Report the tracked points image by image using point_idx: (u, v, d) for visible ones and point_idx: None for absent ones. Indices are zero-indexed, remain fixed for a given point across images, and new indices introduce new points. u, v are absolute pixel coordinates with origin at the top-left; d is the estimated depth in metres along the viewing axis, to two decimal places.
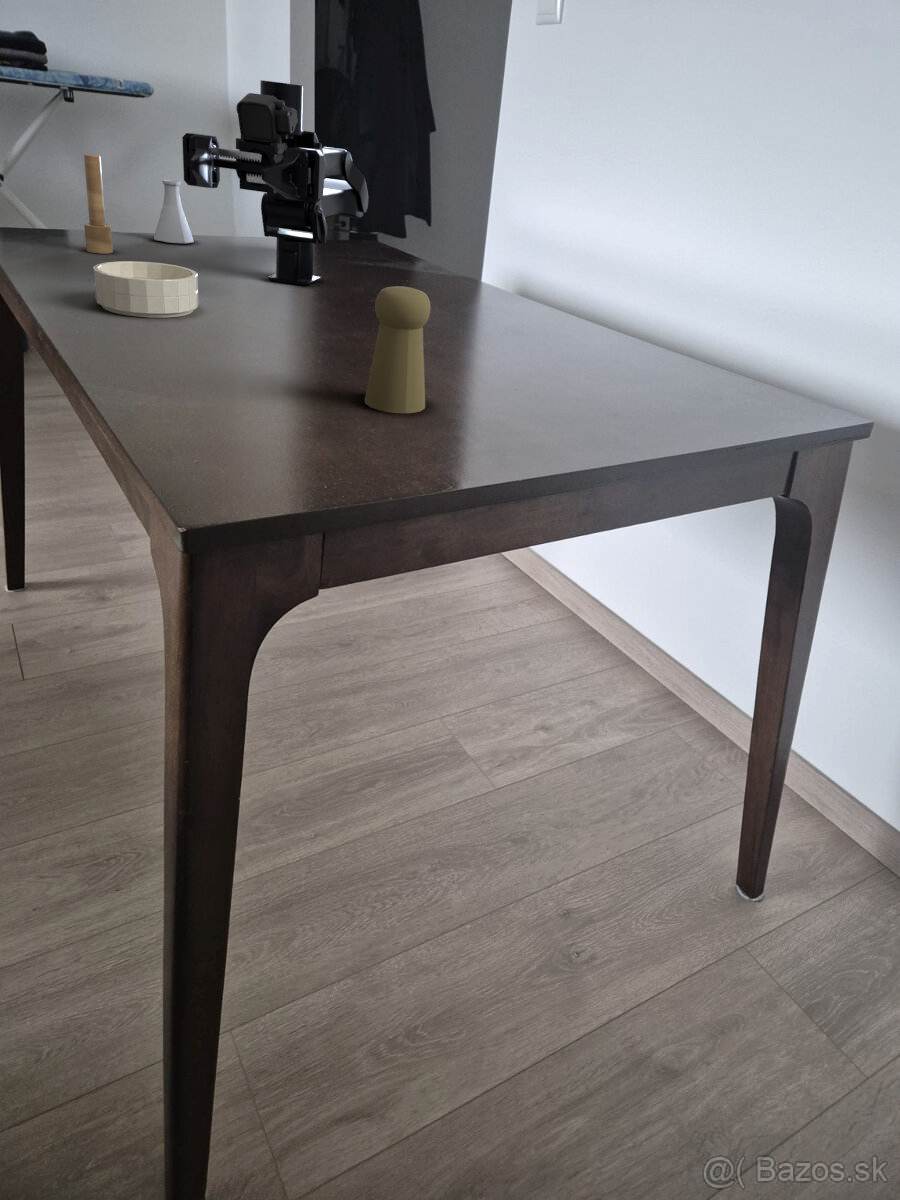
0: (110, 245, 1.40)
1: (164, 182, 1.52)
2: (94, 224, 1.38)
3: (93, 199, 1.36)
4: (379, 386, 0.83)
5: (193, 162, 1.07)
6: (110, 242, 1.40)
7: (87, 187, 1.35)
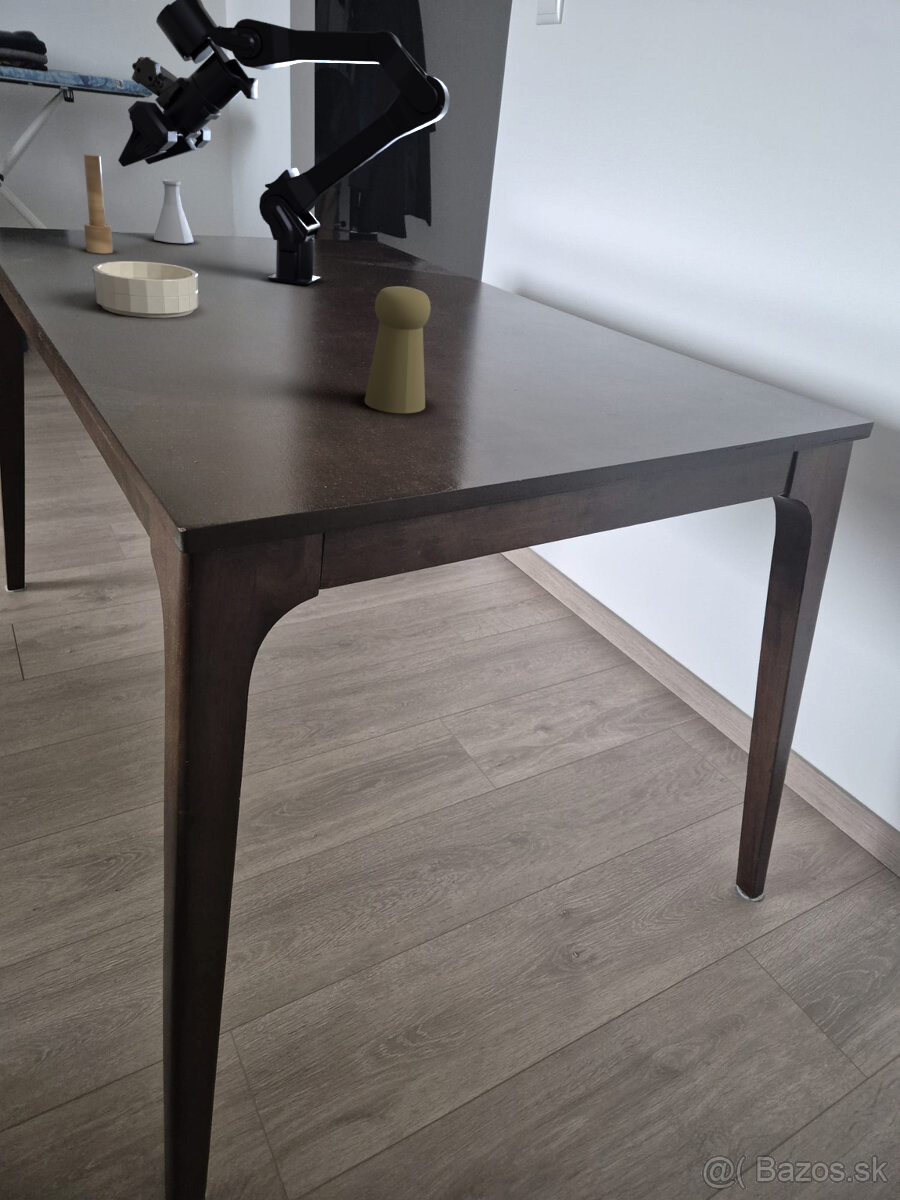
0: (110, 245, 1.40)
1: (164, 182, 1.52)
2: (94, 224, 1.38)
3: (93, 199, 1.36)
4: (379, 386, 0.83)
5: (144, 159, 1.35)
6: (110, 242, 1.40)
7: (87, 187, 1.35)
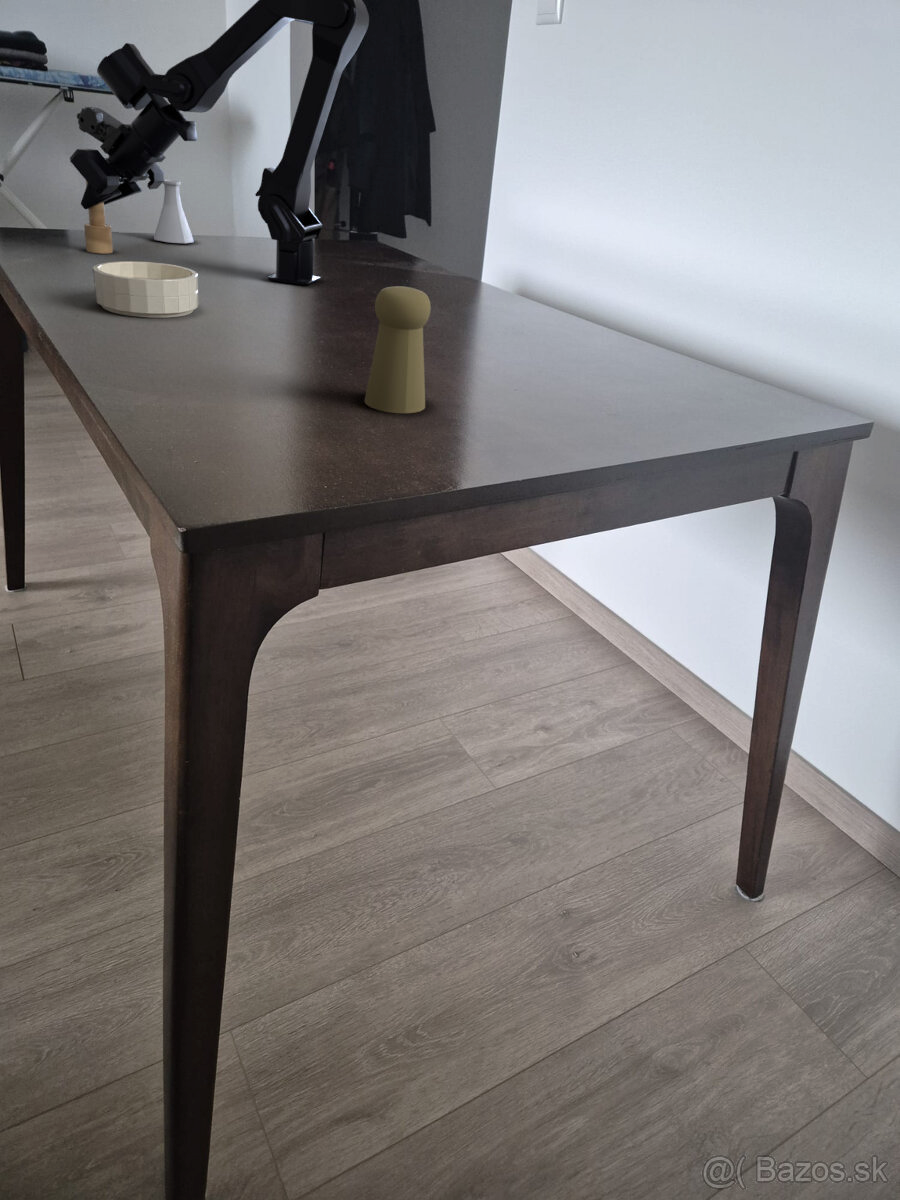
0: (110, 245, 1.40)
1: (164, 182, 1.52)
2: (94, 224, 1.38)
3: None
4: (379, 386, 0.83)
5: None
6: (110, 242, 1.40)
7: None
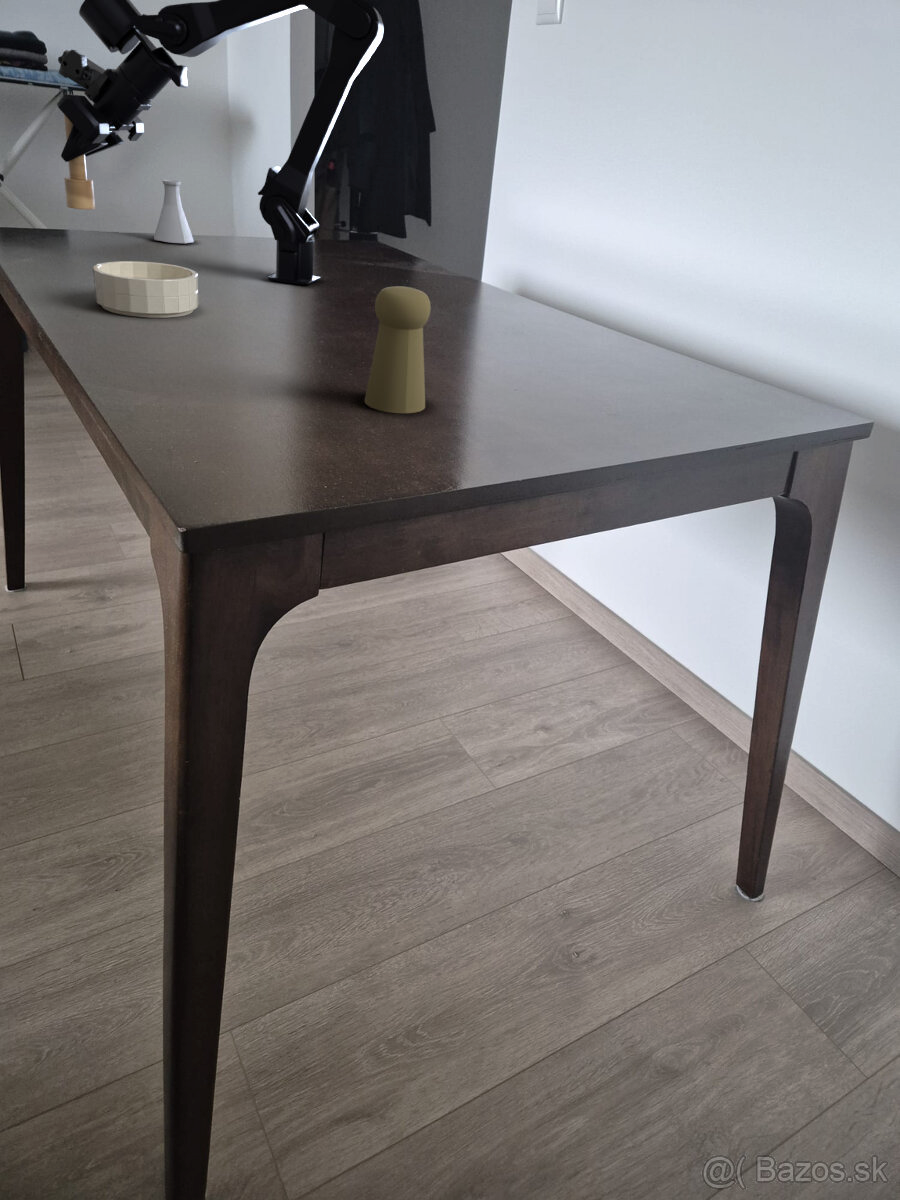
0: (93, 200, 1.32)
1: (164, 182, 1.52)
2: (76, 178, 1.30)
3: None
4: (379, 386, 0.83)
5: None
6: (93, 197, 1.32)
7: (67, 138, 1.28)
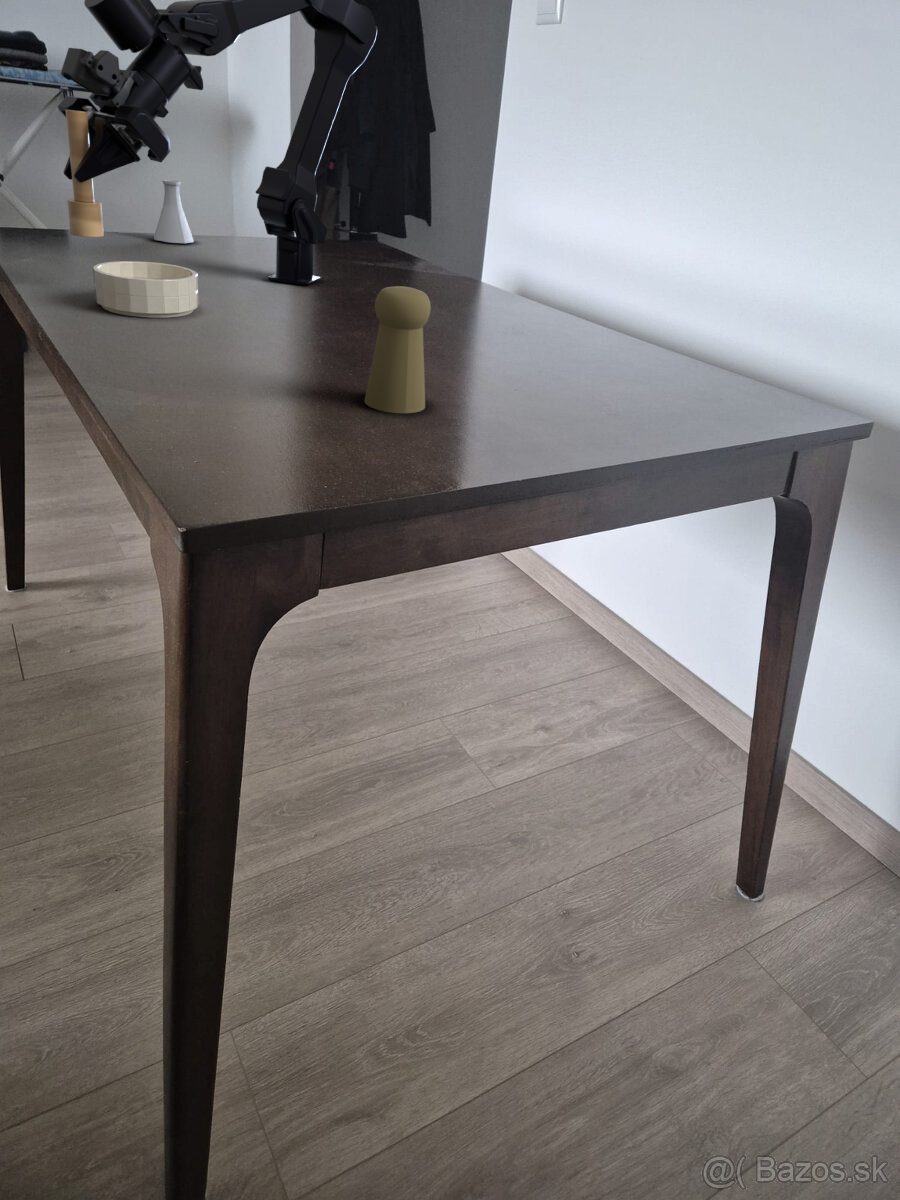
0: None
1: (164, 182, 1.52)
2: (89, 200, 1.09)
3: None
4: (379, 386, 0.83)
5: (65, 174, 1.08)
6: None
7: (78, 153, 1.06)
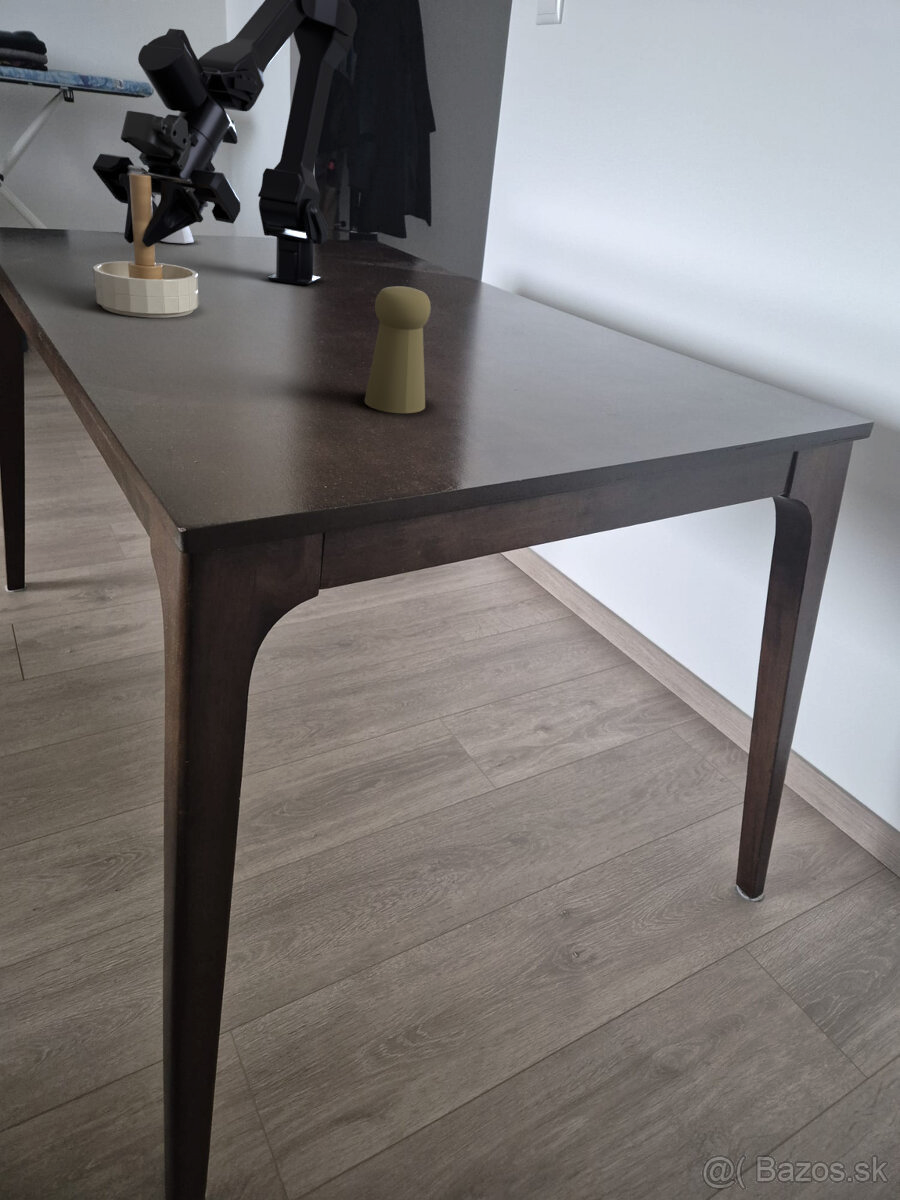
0: None
1: None
2: (153, 263, 1.07)
3: None
4: (379, 386, 0.83)
5: (127, 238, 1.05)
6: None
7: (145, 218, 1.04)
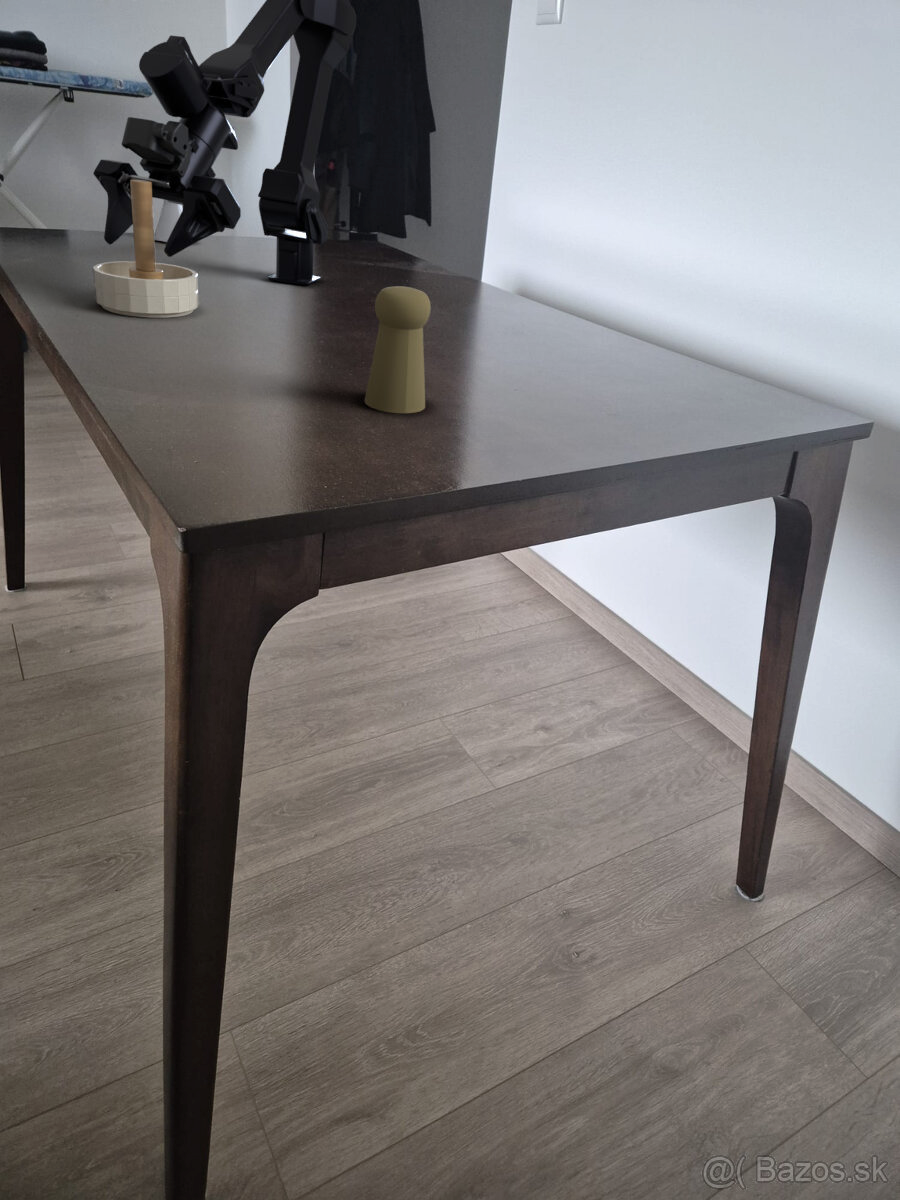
0: None
1: None
2: (154, 269, 1.08)
3: (153, 237, 1.06)
4: (379, 386, 0.83)
5: (106, 239, 1.07)
6: None
7: (145, 224, 1.04)
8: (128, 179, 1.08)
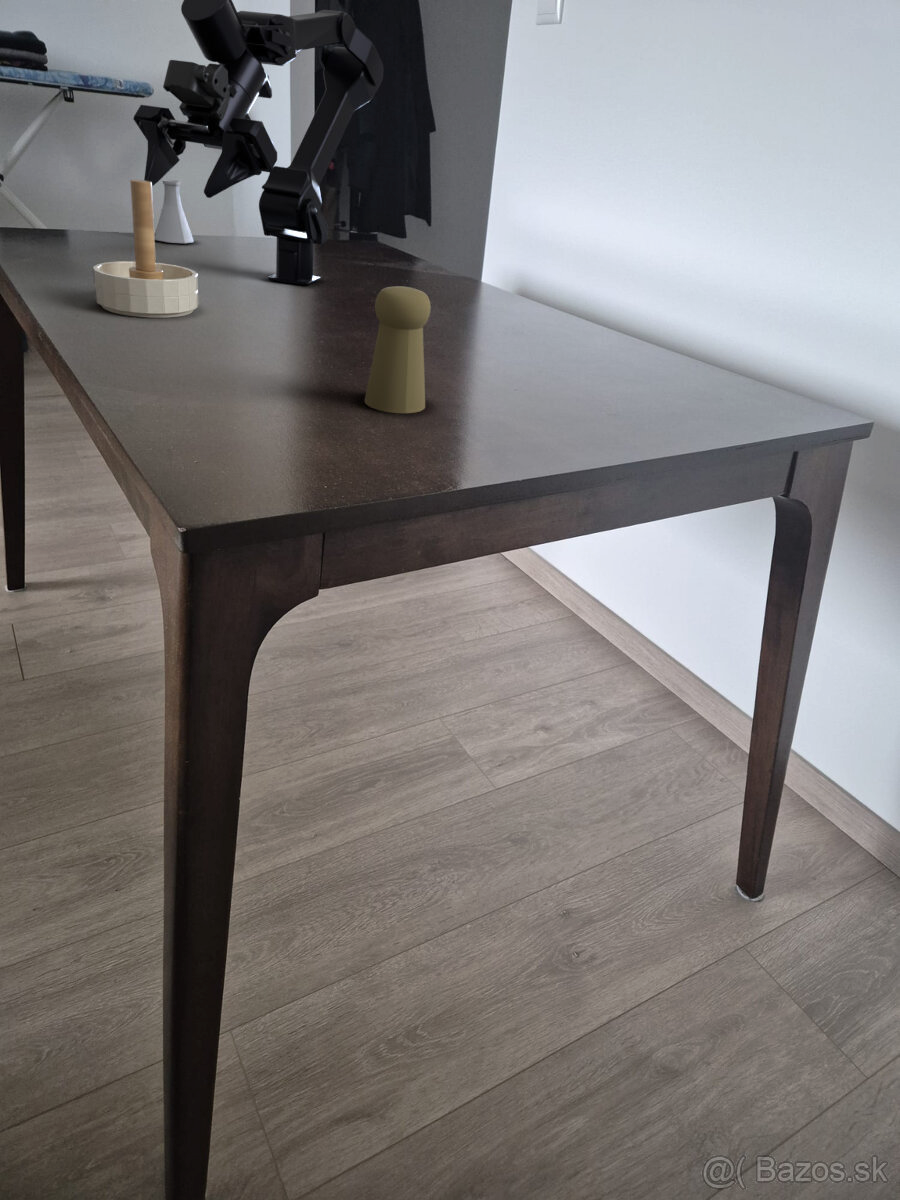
0: None
1: (164, 182, 1.52)
2: (154, 269, 1.08)
3: (153, 237, 1.06)
4: (379, 386, 0.83)
5: None
6: None
7: (145, 224, 1.04)
8: (167, 124, 1.11)
